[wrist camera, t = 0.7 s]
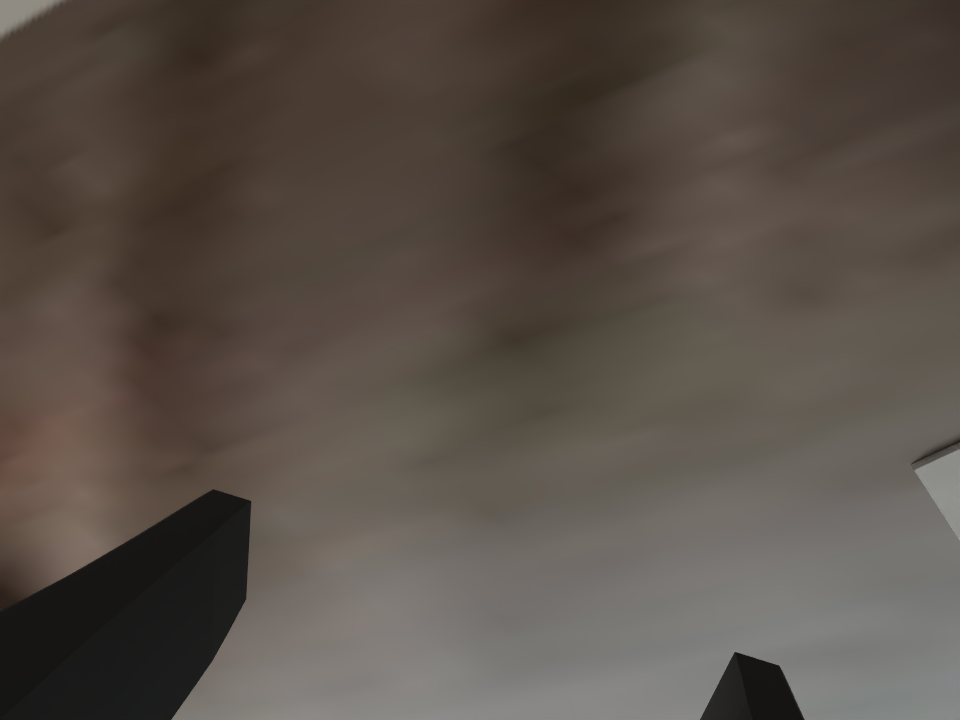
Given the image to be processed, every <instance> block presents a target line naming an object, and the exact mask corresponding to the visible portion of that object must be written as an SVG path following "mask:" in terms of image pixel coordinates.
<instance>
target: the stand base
mask: <svg viewBox="0 0 960 720" xmlns="http://www.w3.org/2000/svg"><path fill="white" fill-rule="evenodd" d="M911 466H912V467H913V469H914V471H915V472H916V474H917V475H918V477H919V478H920V480H921V481H922V483H923V484H924V486H925V488H926V489H927V491H928V492H929V494H930V495H931V497H932V498H933V500H934V501H935V503H936V505H937V506H938V508H939V509H940V511H941V512H942V514H943V515H944V517H945V518H946V520H947V522H948V523H949V525H950V526H951V528H952V529H953V531H954V532H955V534H956V535H957V537H958V538H959V540H960V442H958V443H956V444H954V445H952V446H949V447H947V448H945V449H943V450H941V451H939V452H937V453H934V454H932V455H930V456H928V457H926V458H924V459H921V460H919V461H917V462H915V463H913V464H911Z"/></svg>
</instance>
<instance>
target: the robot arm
mask: <svg viewBox="0 0 960 720" xmlns="http://www.w3.org/2000/svg"><path fill="white" fill-rule="evenodd" d="M250 515H251V501H249V500H246V499H243V498H239V497H236V496H233V495H230V494H227V493H223V492H220V491H217V490H214V489H213V490H211V491H210V492H208V493H206V494H204V495H203V496H201V497H199V498H197V499H196V500H194V501H192V502H191V503H189V504H188V505H186V506H184V507H183V508H181V509H179V510H178V511H176V512H175V513H173V514H171V515H170V516H168V517H167V518H165V519H163V520H162V521H160V522H158V523H157V524H155V525H154V526H152V527H150V528H149V529H147V530H145V531H144V532H142V533H140V534H139V535H137V536H135V537H134V538H132V539H130V540H129V541H127V542H126V543H124V544H122V545H120V546H119V547H117V548H115V549H114V550H112V551H110V552H108V553H107V554H105V555H103V556H101V557H100V558H98V559H96V560H95V561H93V562H91V563H89V564H88V565H86V566H84V567H83V568H81V569H79V570H77V571H76V572H74V573H72V574H70V575H68V576H67V577H65V578H63V579H61V580H59V581H57V582H55V583H54V584H52V585H50V586H48V587H46V588H44V589H42V590H40V591H38V592H37V593H35V594H33V595H31V596H29V597H27V598H25V599H23V600H21V601H20V602H18V603H16V604H14V605H12V606H10V607H8V608H6V609H4V610H2V611H0V720H171V719H172V718H173V716H174V715H175V713H176V712H177V711H178V709H179V708H180V706H181V705H182V704H183V702H184V701H185V699H186V698H187V696H188V695H189V694H190V692H191V691H192V689H193V688H194V686H195V685H196V684H197V682H198V681H199V679H200V678H201V677H202V675H203V674H204V672H205V671H206V669H207V668H208V666H209V665H210V663H211V662H212V660H213V659H214V657H215V655H216V653H217V652H218V650H219V648H220V646H221V644H222V643H223V641H224V639H225V637H226V636H227V634H228V632H229V630H230V628H231V626H232V624H233V623H234V621H235V619H236V617H237V615H238V613H239V611H240V609H241V608H242V606H243V604H244V602H245V600H246V591H247V572H248V553H249V534H250ZM700 720H804V718H803V715H802V713H801V711H800V709H799V707H798V704H797V702H796V700H795V698H794V696H793V693H792V691H791V689H790V687H789V684H788V682H787V680H786V678H785V676H784V674H783V672H782V670H781V668H780V666H778V665H775V664H772V663H769V662H766V661H762V660H759V659H756V658H753V657H749V656H746V655H743V654H740V653H737V652H735V653H734V655H733V657H732V658H731V660H730V662H729V664H728V666H727V668H726V670H725V672H724V674H723V676H722V678H721V680H720V682H719V684H718V686H717V688H716V690H715V692H714V694H713V696H712V698H711V699H710V701H709V703H708V705H707V707H706V709H705V711H704V713H703V715H702V717H701V719H700Z"/></svg>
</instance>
